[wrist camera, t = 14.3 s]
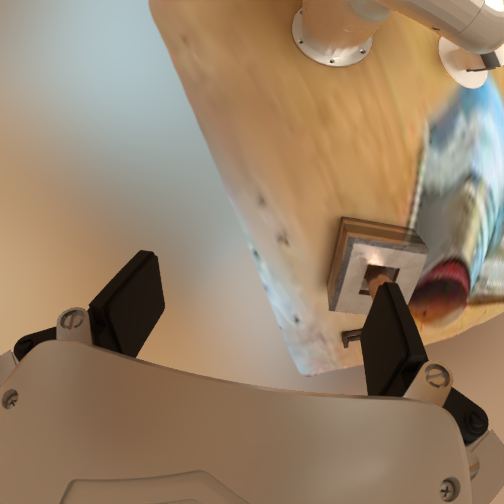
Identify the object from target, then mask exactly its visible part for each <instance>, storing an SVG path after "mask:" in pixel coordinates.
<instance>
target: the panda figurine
mask: <svg viewBox="0 0 504 504" xmlns="http://www.w3.org/2000/svg"><path fill="white" fill-rule="evenodd" d="M438 52H439V56H440V59H441V62H442V64H443V66H444V68H445V70H446V71H447V73H448V74H449V75H450V76H451V77H452V78H453V79H454V80H455V81H456V82H457V83H458V84H460V85H462V86H464V87H467V88H478V87H480V86H482V85H483V84H484V82H485V81H486V78H487V71H488V70H491V69H495V67H501V66H502V65H504V44H503V45H502V46H501V47H499V48H498V49H496V50H495V51H493V52H490V53H487V54H475V53H471V52H468V51H466V50H464V49H462V48H460V47H458V46H457V45H455V44H453V43H452V42H450V41H449V40H447V39H446V38H444V37H442V36H441V37H440V39H439V42H438Z"/></svg>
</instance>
